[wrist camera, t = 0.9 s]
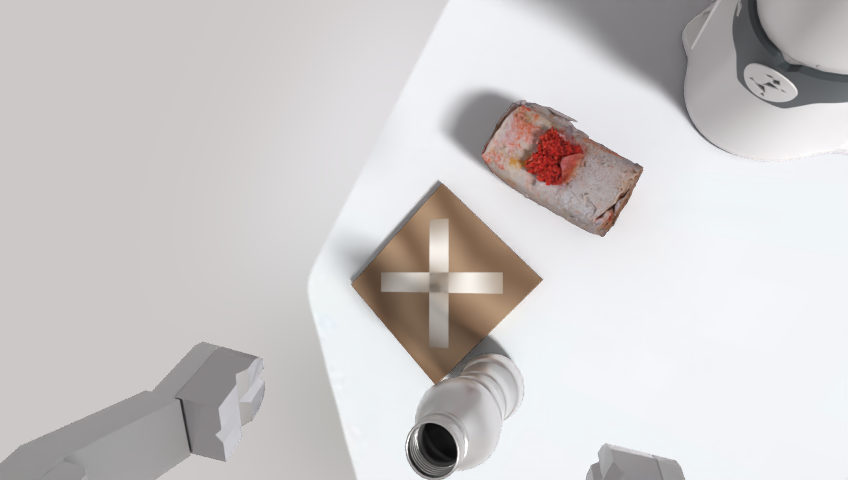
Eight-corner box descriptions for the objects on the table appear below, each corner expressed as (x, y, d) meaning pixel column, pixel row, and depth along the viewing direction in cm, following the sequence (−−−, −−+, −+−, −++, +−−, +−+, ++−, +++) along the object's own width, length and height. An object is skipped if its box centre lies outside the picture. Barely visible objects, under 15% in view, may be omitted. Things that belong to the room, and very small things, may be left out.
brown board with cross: (444, 185, 50) (442, 183, 49) (542, 279, 45) (542, 279, 44) (355, 284, 53) (350, 284, 52) (438, 382, 48) (435, 384, 47)
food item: (487, 179, 48) (462, 155, 39) (526, 115, 47) (511, 75, 38) (601, 244, 44) (604, 235, 34) (647, 175, 43) (663, 146, 33)
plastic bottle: (453, 382, 48) (365, 448, 29) (493, 335, 46) (427, 373, 28) (498, 427, 46) (434, 530, 27) (541, 380, 44) (506, 453, 26)
